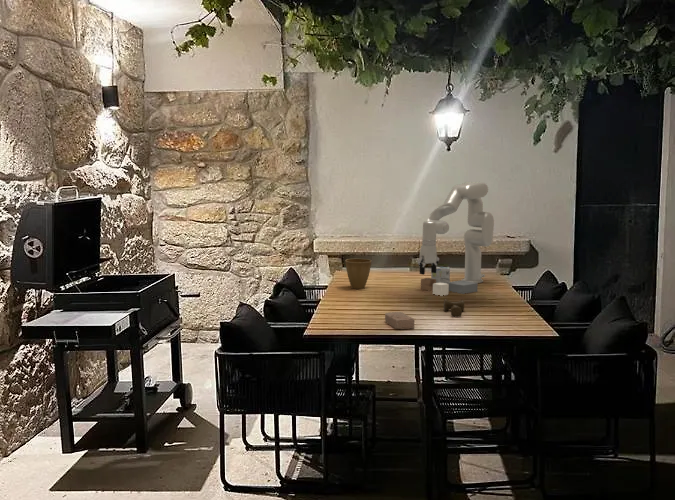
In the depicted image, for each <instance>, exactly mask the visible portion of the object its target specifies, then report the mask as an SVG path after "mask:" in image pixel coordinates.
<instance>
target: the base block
mask: <svg viewBox="0 0 675 500" xmlns="http://www.w3.org/2000/svg"><path fill="white" fill-rule="evenodd" d="M447 284H449V292H450V291H452V292H451V293H456V292H457V293H456V294H462V295H465V293H466V294H472V293H475V292H478V287H479V286H478V284H479V283H474V282H468V281H462V279H460V280H454V281H450V282H447Z"/></svg>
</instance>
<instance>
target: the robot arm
mask: <svg viewBox="0 0 675 500" xmlns="http://www.w3.org/2000/svg"><path fill="white" fill-rule="evenodd" d="M488 192H489V187H488V185H487V183H485V182H480V181H479V182H477V181H475V182H473V181H468V182H467V181H465V182H463V183H462V184H455V185H454V186H452V188H451V190H450V192H449V193H448V195H447V197H446V199H445V201H444V202H443V203H442V204H441V205H439V206H438V207H436V208H435V209H434V210H433V211H431V213H430V214H429V215H428V217H427V219H426V221H423V223H422V242H421V246H420V251H419V258H418V259H417V261H416V262H417V266H418V267H419V274H420V275H425V272H426V267H425V266H426V265H427V264H431V268H430V269H431V270H430V274H431V273H436V267H438V264H439V261H440V257H438V254H437V252H438V251H437V235H445V234H447V233H448V232H449V230H450V224H449V223H448V222H447V221H444V220H440V219H443V218H444V217H446V216H449V215H452V214H455V213H456V212H457V210H458V209H459V206H461V204H462V201H463V200H466V201H467V204H468V205H467V207H468V208H467V225H468V226H469V227H472V229H471V228H470V229H467V230H466V231H465V232H464V234H463V241H464V248H465V249H464V252H465V255H464V278H461V280H462V281H468V282H474V283H478V284H479V283H480V284H481V283H483V282H484V279H482V278H485V276H486V275H485V273H482V249H481V247H489V246H491V245H492V242H493V238H494V229H495V228H494V226H495V220H494V216H493V214H492V213H491V212H489V211H483V209H484V208H483V207H484V205H483V203H484V202H483V199H482V198H484V197H485V196H487V195H488ZM474 228H480V229H474Z"/></svg>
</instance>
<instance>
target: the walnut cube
mask: <svg viewBox="0 0 675 500" xmlns="http://www.w3.org/2000/svg"><path fill="white" fill-rule="evenodd" d="M434 283H436V279H431V278H430V277H426V278H421V279H420V290H422V291H426V290H428V291H427V292H431V291H430V290H432V291H433V284H434Z"/></svg>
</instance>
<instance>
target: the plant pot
mask: <svg viewBox="0 0 675 500" xmlns="http://www.w3.org/2000/svg"><path fill="white" fill-rule="evenodd" d="M372 261H373V260H371V259H367V258H347V259H345V269H346V275H347V278H348V281H349V284H350V287H351V288H352V289H354V290H363V289H365V288H366V285H367V282H368V279H369V277H370V272H371V266H372Z"/></svg>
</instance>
